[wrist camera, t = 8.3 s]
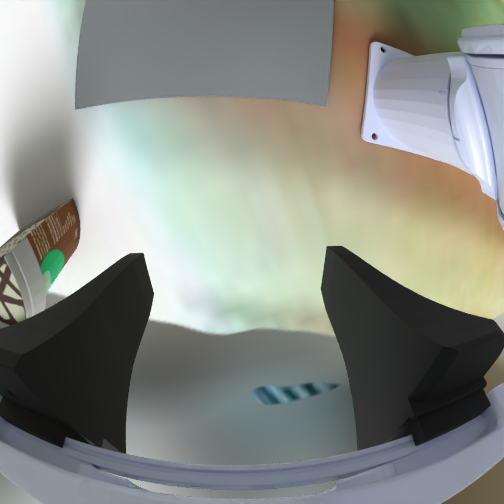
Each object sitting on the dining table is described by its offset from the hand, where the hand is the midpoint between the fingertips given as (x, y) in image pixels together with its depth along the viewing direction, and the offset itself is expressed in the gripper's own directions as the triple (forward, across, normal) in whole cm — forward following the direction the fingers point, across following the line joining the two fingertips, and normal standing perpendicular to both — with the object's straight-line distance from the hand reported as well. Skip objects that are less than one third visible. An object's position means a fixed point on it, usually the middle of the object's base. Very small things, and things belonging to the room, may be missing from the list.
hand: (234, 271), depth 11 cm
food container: (+11, +18, +4) cm, 21 cm away
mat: (+10, +2, -19) cm, 22 cm away
